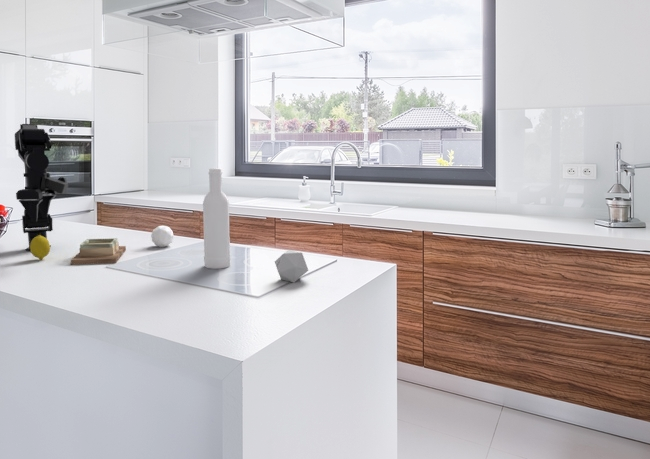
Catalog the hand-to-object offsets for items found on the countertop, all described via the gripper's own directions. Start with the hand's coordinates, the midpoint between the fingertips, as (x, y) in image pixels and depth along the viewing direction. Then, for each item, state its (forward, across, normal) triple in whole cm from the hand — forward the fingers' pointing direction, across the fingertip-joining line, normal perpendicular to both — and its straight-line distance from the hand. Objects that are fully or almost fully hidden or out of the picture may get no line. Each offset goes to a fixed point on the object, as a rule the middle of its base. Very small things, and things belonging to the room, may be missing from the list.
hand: (40, 219), depth 164 cm
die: (+14, -35, -75) cm, 84 cm away
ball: (+13, +18, -35) cm, 41 cm away
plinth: (+13, +2, -17) cm, 21 cm away
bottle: (+13, -16, -55) cm, 58 cm away
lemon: (+13, +1, +1) cm, 13 cm away
